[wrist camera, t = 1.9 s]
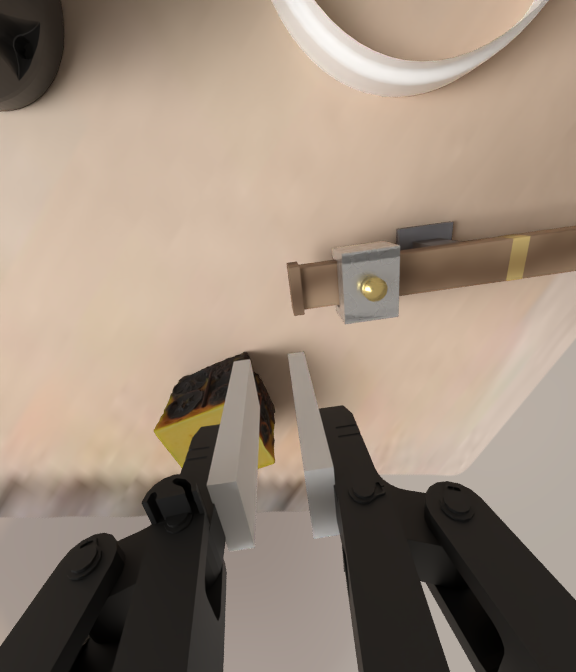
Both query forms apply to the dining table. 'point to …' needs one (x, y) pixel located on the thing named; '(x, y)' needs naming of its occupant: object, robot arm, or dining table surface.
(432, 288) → the beam
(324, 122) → the dining table surface
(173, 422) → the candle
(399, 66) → the white hoop ring
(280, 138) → the dining table surface
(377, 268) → the rider
